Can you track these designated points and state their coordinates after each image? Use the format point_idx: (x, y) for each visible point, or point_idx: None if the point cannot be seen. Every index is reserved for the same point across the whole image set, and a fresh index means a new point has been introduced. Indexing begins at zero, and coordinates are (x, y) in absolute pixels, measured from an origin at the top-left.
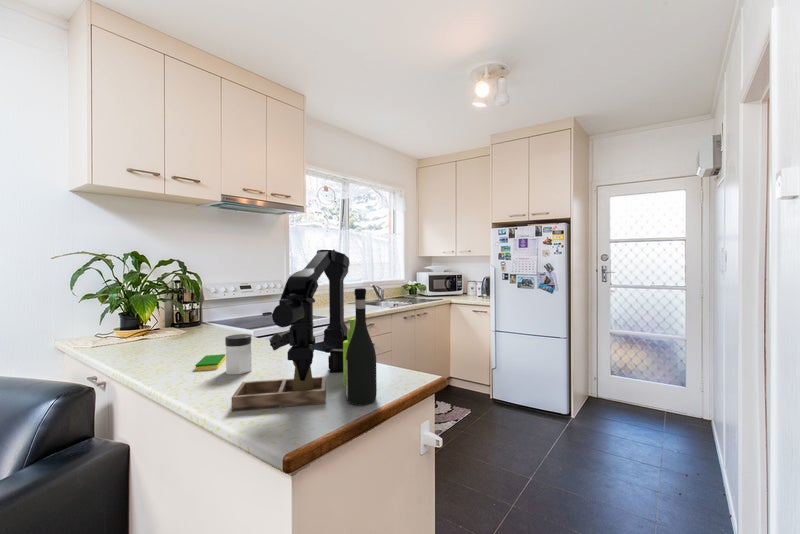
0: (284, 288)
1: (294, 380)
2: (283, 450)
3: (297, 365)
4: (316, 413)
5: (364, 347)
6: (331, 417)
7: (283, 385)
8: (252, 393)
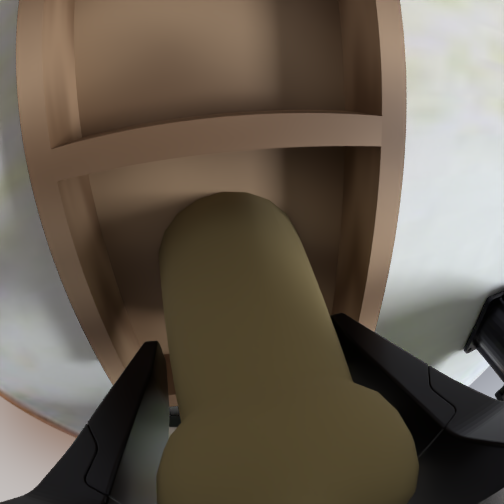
0: None
1: (199, 274)
2: None
3: (59, 472)
4: (37, 336)
5: None
6: (28, 374)
7: (235, 142)
8: None
